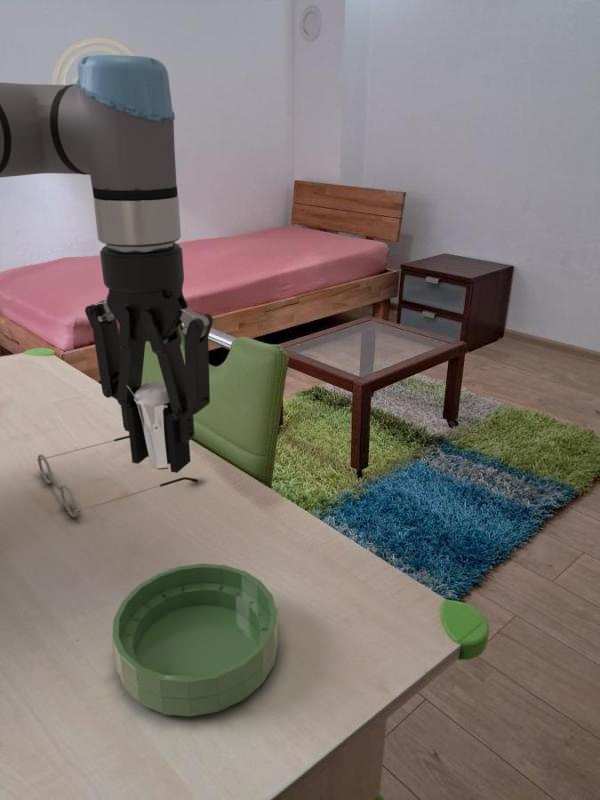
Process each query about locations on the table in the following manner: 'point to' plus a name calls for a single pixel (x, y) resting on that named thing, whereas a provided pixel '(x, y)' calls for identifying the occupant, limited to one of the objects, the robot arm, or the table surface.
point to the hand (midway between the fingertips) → (161, 461)
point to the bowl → (195, 639)
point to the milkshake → (154, 421)
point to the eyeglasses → (76, 511)
